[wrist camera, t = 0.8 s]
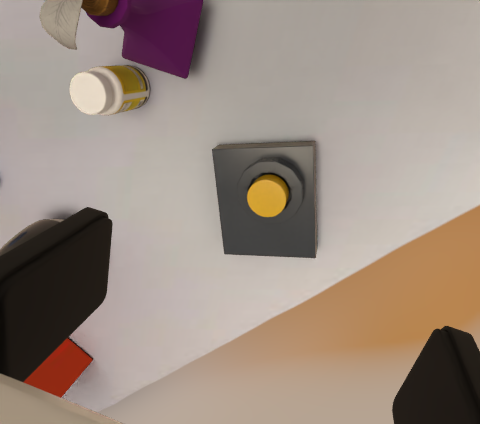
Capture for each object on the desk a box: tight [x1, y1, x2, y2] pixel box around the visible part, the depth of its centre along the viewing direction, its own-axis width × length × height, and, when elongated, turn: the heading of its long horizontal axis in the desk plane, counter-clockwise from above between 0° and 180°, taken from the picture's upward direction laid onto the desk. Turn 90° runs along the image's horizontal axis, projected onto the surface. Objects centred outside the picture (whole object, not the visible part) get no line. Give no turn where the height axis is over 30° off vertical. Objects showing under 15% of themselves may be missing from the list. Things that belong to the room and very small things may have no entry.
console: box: [212, 141, 317, 258], centre depth 42 cm, size 13×11×4 cm
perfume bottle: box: [40, 0, 203, 78], centre depth 32 cm, size 8×8×18 cm
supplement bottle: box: [70, 65, 150, 115], centre depth 39 cm, size 5×5×8 cm
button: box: [247, 174, 289, 217], centre depth 38 cm, size 4×4×2 cm
